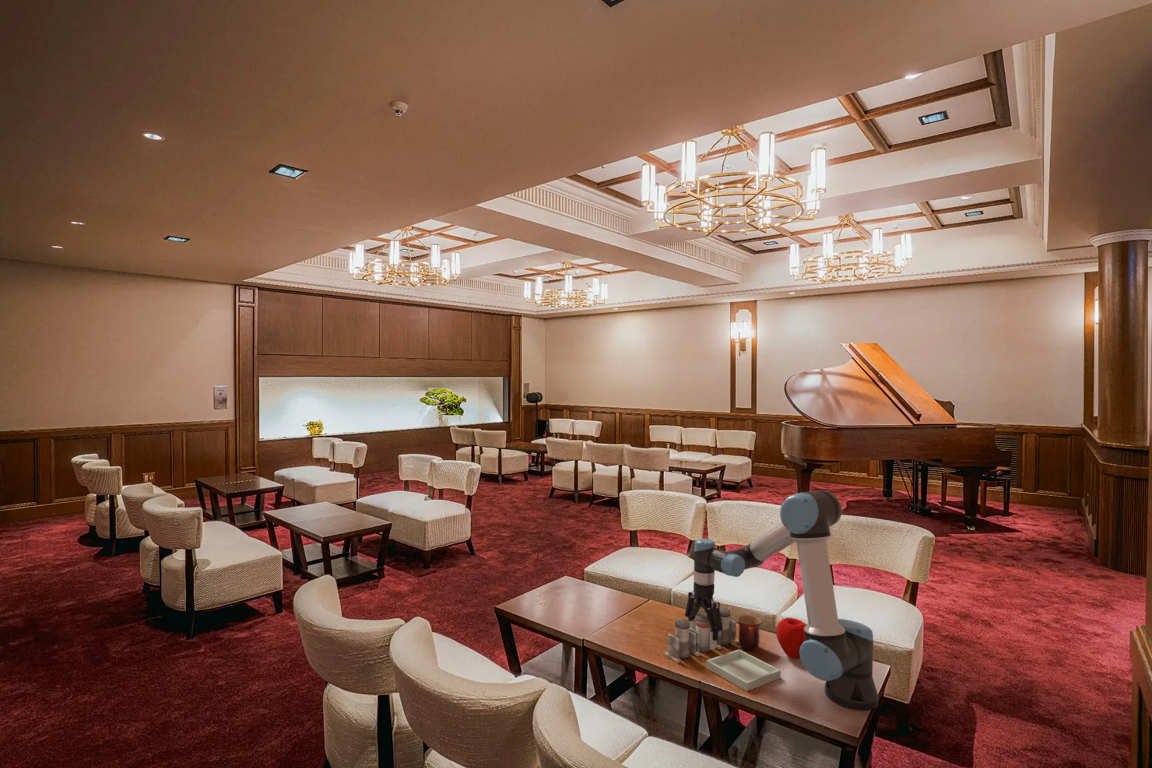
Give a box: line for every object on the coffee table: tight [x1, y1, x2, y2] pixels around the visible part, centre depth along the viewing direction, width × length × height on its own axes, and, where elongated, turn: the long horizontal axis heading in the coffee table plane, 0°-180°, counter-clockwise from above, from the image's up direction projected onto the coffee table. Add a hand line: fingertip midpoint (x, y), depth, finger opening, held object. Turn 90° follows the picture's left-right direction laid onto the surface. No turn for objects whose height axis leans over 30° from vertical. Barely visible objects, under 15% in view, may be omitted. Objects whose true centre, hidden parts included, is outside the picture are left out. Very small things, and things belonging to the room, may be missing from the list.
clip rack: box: [663, 607, 739, 664], centre depth 209 cm, size 7×32×12 cm, turn 123°
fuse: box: [695, 612, 711, 653], centre depth 209 cm, size 5×5×12 cm
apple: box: [775, 617, 807, 660], centre depth 204 cm, size 12×12×13 cm
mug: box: [737, 614, 763, 652], centre depth 209 cm, size 12×9×10 cm
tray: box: [705, 649, 782, 692], centre depth 191 cm, size 18×17×3 cm
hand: (702, 643), depth 209 cm, fingers open, 9 cm apart
